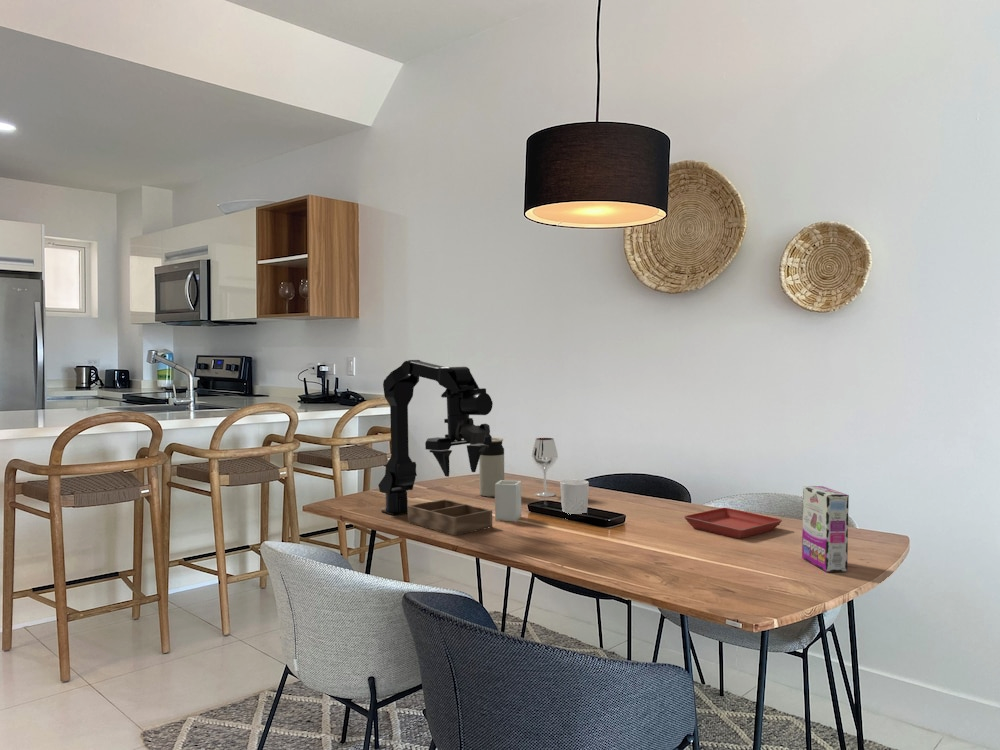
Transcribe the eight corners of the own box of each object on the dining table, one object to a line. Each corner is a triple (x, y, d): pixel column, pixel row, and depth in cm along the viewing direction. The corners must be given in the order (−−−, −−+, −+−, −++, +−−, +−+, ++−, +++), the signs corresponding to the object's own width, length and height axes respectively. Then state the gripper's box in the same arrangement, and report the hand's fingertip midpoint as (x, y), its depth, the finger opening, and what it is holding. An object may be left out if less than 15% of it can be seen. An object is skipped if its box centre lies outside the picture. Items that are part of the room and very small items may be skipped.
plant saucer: (783, 531, 197) (783, 518, 197) (741, 542, 186) (741, 529, 186) (724, 519, 211) (724, 507, 211) (682, 528, 200) (682, 516, 200)
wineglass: (558, 497, 240) (558, 440, 240) (532, 497, 240) (532, 440, 240) (556, 492, 248) (556, 437, 248) (531, 492, 249) (531, 437, 248)
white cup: (587, 521, 208) (587, 484, 207) (558, 520, 209) (558, 484, 209) (590, 515, 215) (589, 479, 215) (562, 513, 217) (562, 479, 217)
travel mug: (497, 498, 240) (497, 441, 239) (475, 496, 243) (474, 439, 243) (508, 493, 247) (508, 438, 246) (486, 491, 251) (486, 437, 250)
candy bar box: (849, 572, 160) (850, 494, 160) (826, 573, 160) (827, 495, 159) (822, 557, 171) (823, 484, 171) (800, 558, 171) (801, 485, 170)
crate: (407, 522, 208) (407, 505, 207) (445, 515, 216) (445, 498, 216) (454, 535, 193) (453, 517, 193) (492, 527, 202) (492, 509, 202)
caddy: (495, 520, 210) (494, 484, 209) (500, 515, 215) (500, 480, 215) (516, 521, 208) (516, 484, 208) (521, 516, 214) (521, 481, 213)
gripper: (451, 417, 187) (453, 481, 188) (505, 412, 200) (507, 472, 201) (422, 417, 195) (425, 477, 195) (476, 412, 208) (478, 469, 209)
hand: (460, 474), depth 200 cm, fingers open, 9 cm apart
